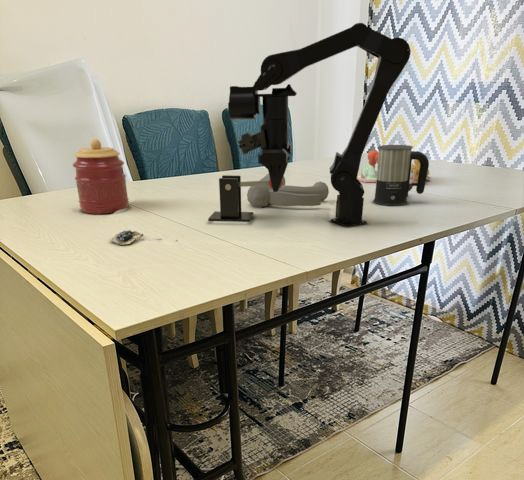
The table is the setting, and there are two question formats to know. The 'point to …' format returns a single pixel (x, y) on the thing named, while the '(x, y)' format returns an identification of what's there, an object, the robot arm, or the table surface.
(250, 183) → the tap lever
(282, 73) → the robot arm
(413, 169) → the candy landscape model
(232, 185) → the bracket
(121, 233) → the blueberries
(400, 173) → the milk frother
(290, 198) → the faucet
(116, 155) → the kitchen canister
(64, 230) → the table surface
